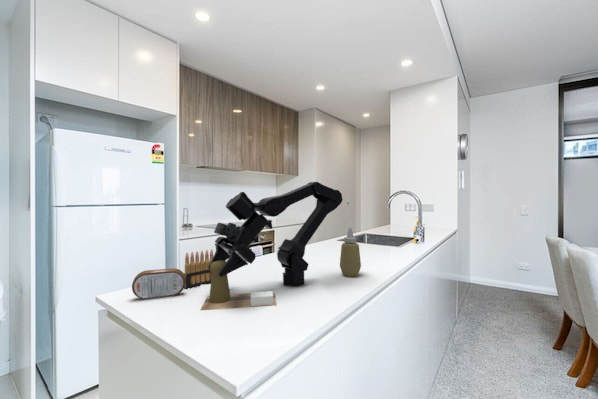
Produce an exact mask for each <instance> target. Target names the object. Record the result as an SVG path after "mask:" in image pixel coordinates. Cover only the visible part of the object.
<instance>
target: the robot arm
mask: <svg viewBox="0 0 598 399" xmlns="http://www.w3.org/2000/svg"><path fill="white" fill-rule="evenodd" d="M311 196H313V197H314V198H315V199H316V205H315V208H314V209H313V211H312V212H311V213H310V214H309V216H308V218H307V219H306V221H304V223H303V224H302V226H301V227H300V229H299V230H298V231H297V233H296V234H295V235H294V237H293V238H291V239H288V238H287V239H286V238H285V239H284V240H283V241H282V243H281V245H279V247H278V248H277V249H278V250H277V253H276V255H277V261H278V262H279V263H280V265H281V267H282V268H284V272H282V284H283V287H284V286H285V287H301V286H305V271H308V267H309V263H308V262H307V261H306V260H305V258H304V256H305V252H306V246H307V244H308V243H309V241H310V240H311V239H312V238H313V236H314V234H315V233H316V232H317V230H318V229H319V227H320V226H321V224H322V223H323V222H324V220H325V218H327V216H328V215H329V213H332V212H333V211H335V210H336V209H337V208H338V207H339V206H340V205H341V204H342V202H343V194H342V193H341V191H340V190H339V189H333V188H331V187H330V186H329V187H328V186H327V185H324V184H322V183H321V182H318V181H310V182H308V183H307V184H305V185H302V186H300V187H297V188H295V189H292V190H291V191H287V192H286V193H283V194H279V195H274V196H268V197H264V198H262V199H260V200H259V201H258V202H253V201H252V200H251V199H250V198H249V196H248V195H247V193H246V192H245V191H240V192H239V193H238V194H236V195H235V196H234V197H233V198H230V199H229V201H228V202H227V203H226V205H225V208H226V209H227V210H228V211H229V212H230V213H231V214H232V215H233V216H234V217H235V218H237V220H239V221H241V220H243V221H244V222H243V223H242V225H241V226H240V225H237V224H235V223H233V222H228V223H227V224H225V223H222V222H217V225H216V226H215V229H214V231H213V233H215V234H218V235H220V236H218V237H217V238H216V240H214V245H215V252H214V253H213V259H212V261H211V263H212V262H214V261H226V263H225V265H224V266H223V268H222V269H221V271H220V272H219V274H218V275H219V276H220V277H223V276H225V275H226V274H227V275H228V274H230V273H232V272H233V271H236V270H239V269H240V268H242V267H244V266H248V265H249V264H253V262H254V261H255V260H256V253H255V252H254V251H253V250H252V249H251V248H250V247H249V246H250V245H251V244H253V243H256V242H257V241H258V239H257V237H258V236H259V235H260V233H261V232H262V231H263V230H264V228H265V229H270V230H271V229H273V223H272V222H273V220H272V219H267V217H273V218H274V217H277V216H280V214H282V213H284V212H285V211H286V209H288V207H290V206H291V205H294V204H296V203H298V202H300V201H303V200H304V199H307V198H309V197H311ZM258 212H259V213H258ZM265 216H266V217H265ZM211 263H210V265H211ZM210 265H209V267H208V268H209V269H210Z"/></svg>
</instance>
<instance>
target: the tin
mask: <svg viewBox="0 0 598 399" xmlns="http://www.w3.org/2000/svg"><path fill="white" fill-rule="evenodd" d="M184 273H185V272H183V271H182V270H181V269H179V268H175V267H174V268H162V269H148V270H143V271H141V272H140V273H139V272H138V274H137V275H135V277H134V278H133V281H132V285H131V290H132V292H133V295H135V297H136V298H139V299H140V300H141V299H142V300H152V299H161V298H169V297H175V296H178V295H179V294H181V293H182V292H183V291H184V289H185V288H184V287H185V284H186V276H185V274H184Z"/></svg>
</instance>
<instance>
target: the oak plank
mask: <svg viewBox="0 0 598 399" xmlns="http://www.w3.org/2000/svg"><path fill="white" fill-rule="evenodd" d="M272 292H273V305H263V306H251V292H248V293H230V297H231V299H230V300H229V301H227V302H224V303H211V302H209V296H210V295H207V296H206V298H205V300H204V301H203V303H202V306H201V307H200V310H199V311H211V310H224V309H225V310H228V309H242V308H258V307H272V306H273V307H275V306H278V302H277V298H276V292H275V291H272Z"/></svg>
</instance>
